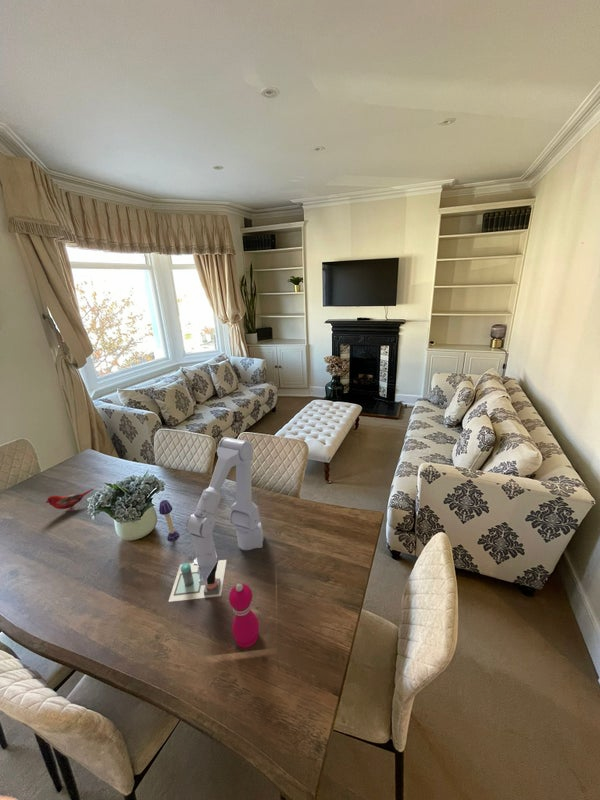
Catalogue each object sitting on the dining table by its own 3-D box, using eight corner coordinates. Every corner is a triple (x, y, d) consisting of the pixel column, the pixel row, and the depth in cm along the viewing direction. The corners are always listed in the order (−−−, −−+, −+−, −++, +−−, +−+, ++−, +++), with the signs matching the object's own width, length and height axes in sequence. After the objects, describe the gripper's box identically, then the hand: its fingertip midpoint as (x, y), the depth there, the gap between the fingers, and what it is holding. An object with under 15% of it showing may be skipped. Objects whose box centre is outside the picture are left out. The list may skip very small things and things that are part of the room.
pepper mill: (235, 626, 93) (226, 574, 86) (260, 623, 93) (253, 571, 86) (232, 653, 86) (222, 599, 79) (259, 650, 87) (252, 596, 80)
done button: (219, 582, 105) (217, 576, 104) (217, 592, 102) (216, 586, 101) (207, 583, 105) (206, 577, 104) (205, 593, 102) (204, 587, 101)
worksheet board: (226, 561, 114) (226, 556, 114) (221, 598, 101) (220, 592, 101) (180, 566, 114) (179, 561, 113) (169, 604, 100) (167, 598, 100)
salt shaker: (194, 578, 108) (191, 562, 105) (193, 586, 105) (189, 570, 102) (185, 579, 107) (181, 563, 105) (183, 587, 104) (179, 571, 102)
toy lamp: (174, 542, 124) (166, 506, 119) (163, 540, 125) (154, 505, 120) (181, 533, 129) (173, 498, 123) (170, 531, 130) (162, 497, 124)
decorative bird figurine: (50, 516, 142) (43, 497, 139) (96, 498, 153) (90, 480, 149) (51, 519, 140) (43, 500, 137) (97, 501, 151) (91, 482, 147)
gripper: (196, 532, 104) (203, 564, 109) (185, 570, 91) (193, 604, 96) (218, 530, 105) (224, 562, 110) (210, 567, 91) (217, 602, 96)
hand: (211, 582), depth 103 cm, fingers closed, pressing on done button
